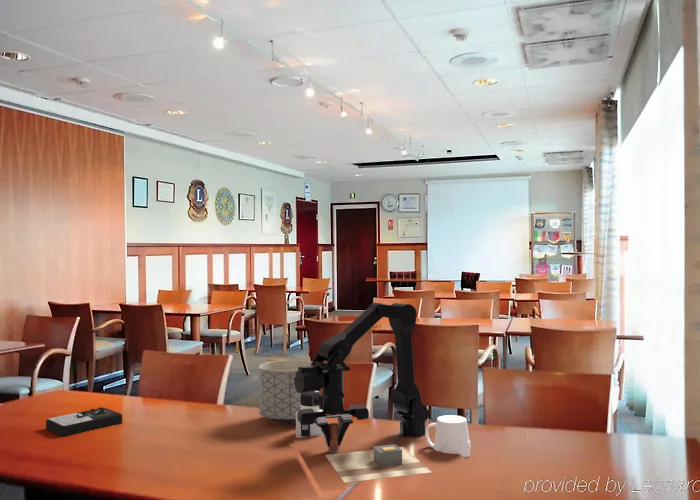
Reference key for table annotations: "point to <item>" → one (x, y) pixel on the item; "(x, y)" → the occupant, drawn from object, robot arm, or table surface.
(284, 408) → the planter
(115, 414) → the multimeter
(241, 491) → the table surface
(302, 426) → the container
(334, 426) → the brown cylinder
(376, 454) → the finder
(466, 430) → the mug
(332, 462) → the board
